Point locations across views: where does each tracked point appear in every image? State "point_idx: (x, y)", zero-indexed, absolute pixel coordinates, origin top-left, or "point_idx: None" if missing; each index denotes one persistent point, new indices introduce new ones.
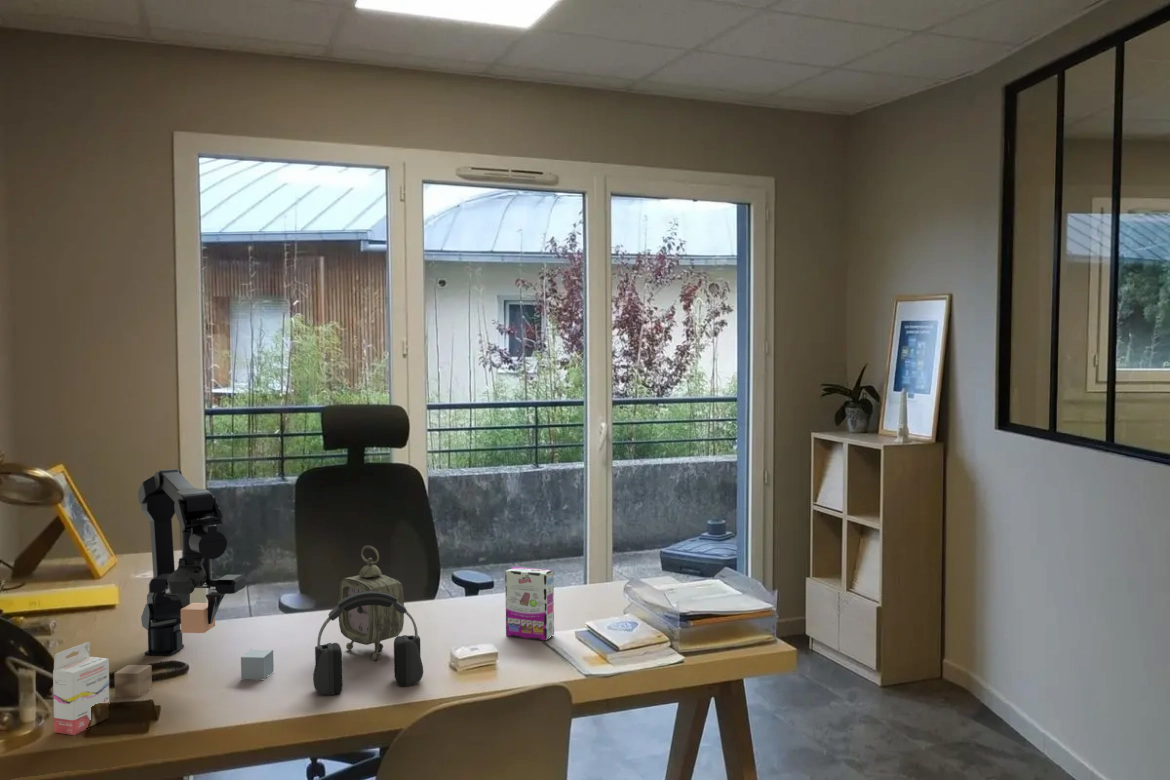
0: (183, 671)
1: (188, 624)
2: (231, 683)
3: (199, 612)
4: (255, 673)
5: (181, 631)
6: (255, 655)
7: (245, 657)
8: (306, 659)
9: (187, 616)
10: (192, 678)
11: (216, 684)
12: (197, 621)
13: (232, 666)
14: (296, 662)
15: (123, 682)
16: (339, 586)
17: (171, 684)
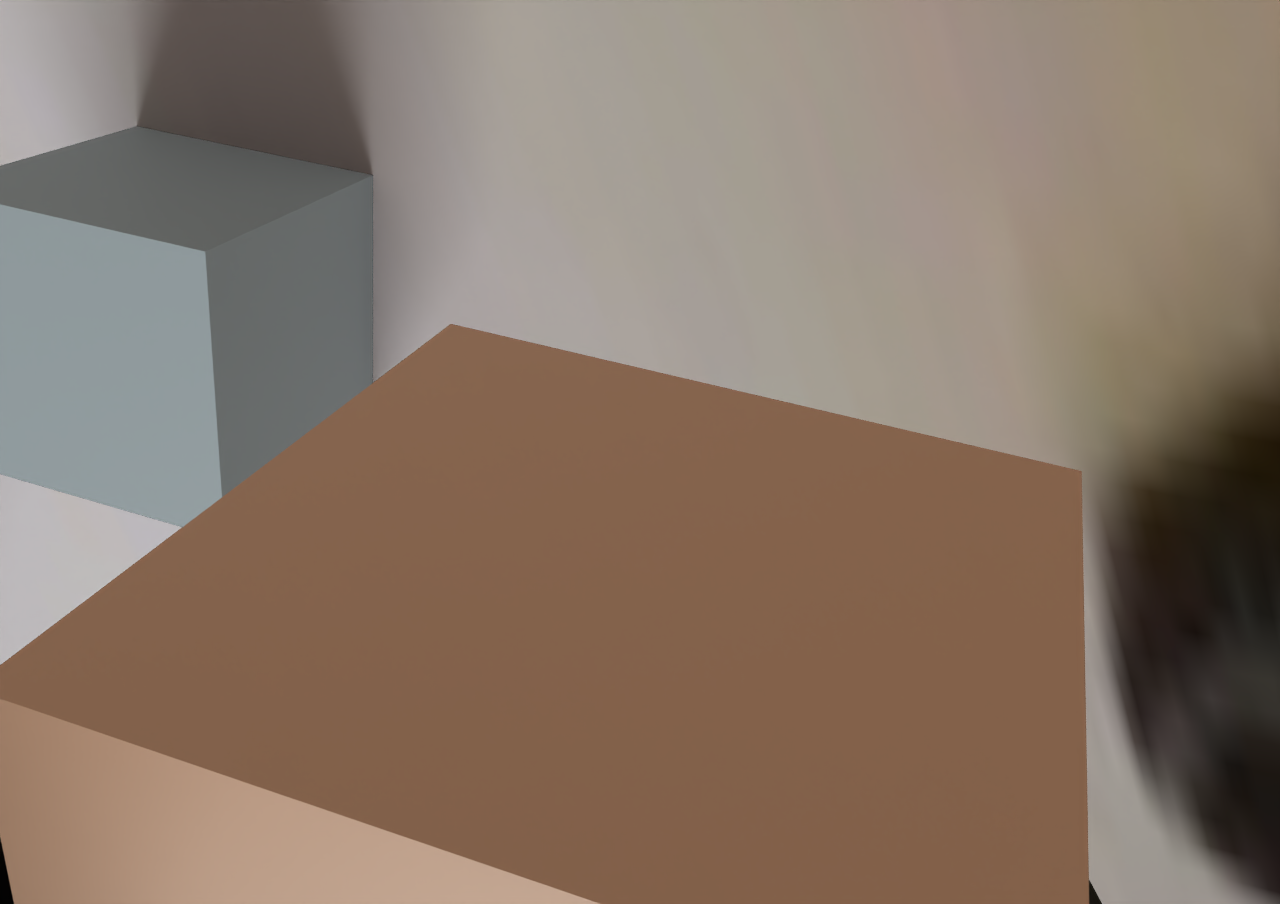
0: (1162, 581)
1: (815, 535)
2: (431, 57)
3: (222, 665)
4: (173, 160)
5: (1072, 490)
6: (58, 286)
7: (148, 237)
8: (44, 630)
9: (785, 704)
10: (975, 308)
11: (596, 39)
12: (478, 503)
13: None
14: (86, 577)
15: None
16: None
17: (1229, 107)
